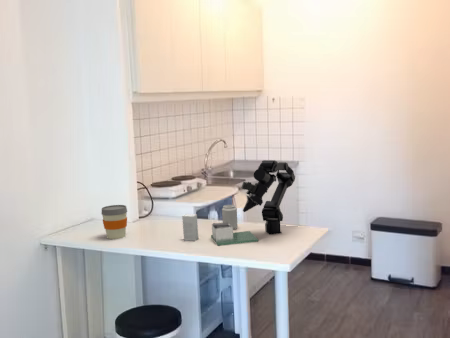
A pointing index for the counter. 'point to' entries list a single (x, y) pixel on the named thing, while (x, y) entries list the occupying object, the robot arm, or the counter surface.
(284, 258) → the counter surface
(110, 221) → the reusable coffee cup
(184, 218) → the skincare box
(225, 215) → the can
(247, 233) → the board
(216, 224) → the strap
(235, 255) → the counter surface
